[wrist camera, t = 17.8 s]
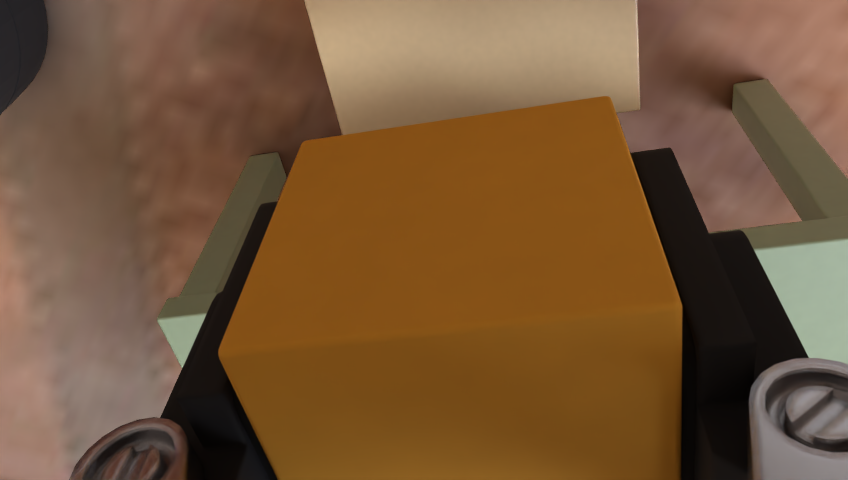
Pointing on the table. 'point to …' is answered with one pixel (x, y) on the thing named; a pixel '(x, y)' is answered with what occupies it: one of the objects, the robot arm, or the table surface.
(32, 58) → the pen holder
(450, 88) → the chair
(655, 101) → the table surface
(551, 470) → the block
